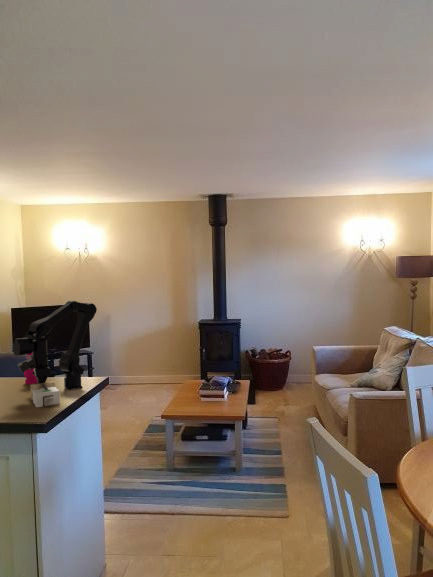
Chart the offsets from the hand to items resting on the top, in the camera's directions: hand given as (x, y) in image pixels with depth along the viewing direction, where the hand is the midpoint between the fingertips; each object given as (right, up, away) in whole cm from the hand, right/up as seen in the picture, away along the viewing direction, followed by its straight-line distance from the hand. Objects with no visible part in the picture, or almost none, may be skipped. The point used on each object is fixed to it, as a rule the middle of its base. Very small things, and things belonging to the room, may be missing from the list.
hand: (41, 389), depth 177 cm
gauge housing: (+6, -3, -10) cm, 12 cm away
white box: (+6, -3, -10) cm, 12 cm away
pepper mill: (-14, -3, +24) cm, 28 cm away
